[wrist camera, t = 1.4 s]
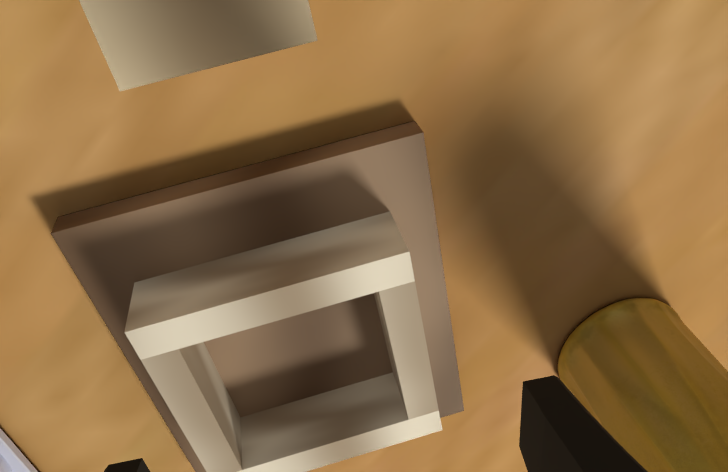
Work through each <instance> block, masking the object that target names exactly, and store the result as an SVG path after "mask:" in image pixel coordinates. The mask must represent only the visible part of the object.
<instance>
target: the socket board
mask: <svg viewBox="0 0 728 472" xmlns="http://www.w3.org/2000/svg"><path fill="white" fill-rule="evenodd" d="M51 235H52V236H53V238H54V240H55V241H56V243H57V245H58V246H59V248H60V249H61V251H62V253H63V254H64V256H65V258H66V259H67V261H68V263H69V264H70V266H71V268H72V269H73V271H74V273H75V274H76V276H77V277H78V279H79V281H80V282H81V284H82V286H83V287H84V289H85V291H86V292H87V294H88V296H89V297H90V299H91V300H92V302H93V304H94V305H95V307H96V309H97V310H98V312H99V314H100V315H101V317H102V319H103V320H104V322H105V324H106V325H107V327H108V328H109V330H110V332H111V333H112V335H113V337H114V338H115V340H116V342H117V343H118V345H119V347H120V348H121V350H122V352H123V353H124V355H125V356H126V358H127V360H128V361H129V363H130V365H131V366H132V368H133V370H134V371H135V373H136V375H137V376H138V378H139V380H140V381H141V383H142V384H143V386H144V388H145V389H146V391H147V393H148V394H149V396H150V398H151V399H152V401H153V403H154V404H155V406H156V407H157V409H158V411H159V412H160V414H161V416H162V417H163V419H164V421H165V422H166V424H167V426H168V427H169V429H170V431H171V432H172V434H173V435H174V437H175V439H176V440H177V442H178V444H179V445H180V447H181V449H182V450H183V452H184V454H185V455H186V457H187V459H188V460H189V462H190V463H191V465H192V467H193V468H194V470H195V472H306V471H309V470H313V469H316V468H319V467H323V466H326V465H329V464H332V463H336V462H339V461H342V460H346V459H349V458H352V457H355V456H359V455H362V454H365V453H369V452H372V451H375V450H378V449H382V448H385V447H388V446H391V445H395V444H398V443H401V442H405V441H408V440H411V439H414V438H418V437H421V436H424V435H428V434H431V433H434V432H437V431H441V430H442V426H441V420H440V418H441V417H445V416H448V415H451V414H455V413H458V412H461V411H464V407H463V400H462V393H461V386H460V380H459V373H458V366H457V359H456V352H455V345H454V339H453V332H452V325H451V318H450V311H449V304H448V298H447V291H446V284H445V277H444V270H443V263H442V257H441V250H440V243H439V236H438V229H437V222H436V216H435V209H434V202H433V195H432V188H431V181H430V174H429V168H428V161H427V154H426V147H425V140H424V133H423V131H422V130H421V129H420V127H419V126H418V125H417V123H416V122H415V121H413V122H409V123H405V124H402V125H398V126H394V127H390V128H387V129H383V130H379V131H376V132H372V133H368V134H364V135H361V136H357V137H353V138H350V139H346V140H342V141H339V142H335V143H331V144H327V145H324V146H320V147H316V148H313V149H309V150H305V151H301V152H298V153H294V154H290V155H287V156H283V157H279V158H275V159H272V160H268V161H264V162H261V163H257V164H253V165H249V166H246V167H242V168H238V169H235V170H231V171H227V172H223V173H220V174H216V175H212V176H209V177H205V178H201V179H198V180H194V181H190V182H186V183H183V184H179V185H175V186H172V187H168V188H164V189H160V190H157V191H153V192H149V193H146V194H142V195H138V196H134V197H131V198H127V199H123V200H120V201H116V202H112V203H108V204H105V205H101V206H97V207H94V208H90V209H86V210H83V211H79V212H75V213H71V214H68V215H64V216H60V217H58V218H57V221H56V223H55V225H54V227H53V230H52V232H51Z"/></svg>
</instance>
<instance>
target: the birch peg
mask: <svg viewBox="0 0 728 472" xmlns="http://www.w3.org/2000/svg"><path fill="white" fill-rule="evenodd" d="M79 1H80V3H81V6H82V8H83V10H84V12H85V14H86V17H87V19H88V21H89V23H90V26H91V28H92V30H93V32H94V35H95V37H96V39H97V41H98V43H99V46H100V48H101V50H102V52H103V55H104V57H105V59H106V61H107V63H108V66H109V68H110V70H111V72H112V75H113V77H114V79H115V81H116V83H117V86H118V88H119V90H120V91H123V90H127V89H131V88H135V87H139V86H143V85H147V84H151V83H154V82H158V81H162V80H166V79H170V78H174V77H178V76H182V75H185V74H189V73H193V72H197V71H201V70H205V69H209V68H213V67H217V66H220V65H224V64H228V63H232V62H236V61H240V60H244V59H248V58H251V57H255V56H259V55H263V54H267V53H271V52H275V51H279V50H282V49H286V48H290V47H294V46H298V45H302V44H306V43H310V42H314V41H317V36H316V32H315V28H314V23H313V19H312V15H311V11H310V6H309V2H308V0H79Z"/></svg>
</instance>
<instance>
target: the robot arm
mask: <svg viewBox="0 0 728 472" xmlns="http://www.w3.org/2000/svg"><path fill="white" fill-rule="evenodd" d="M519 447H520V450H521V453H522V456H523V459H524V461H525V464H526V467H527V470H528V472H648V471H646V470H645V469H644V468H643V467H642V466H641V465H640V464H639V463H638V462H637V461H636V460H635V459H634V458H633V457H632V456H631V455H630V454H629V453H628V452H627V451H626V450H625V449H624V448H623V447H622V446H621V445H620V444H619V443H618V442H617V441H616V440H615V439H614V438H613V437H612V436H611V435H610V434H609V433H608V432H607V430H606V429H605V428H604V427H603V426H602V425H601V424H600V423H599V422H598V421H597V420H596V419H595V418H594V417H593V416H592V415H591V414H590V412H589V411H588V410H587V409H586V408H585V407H584V406H583V405H582V404H581V403H580V401H579V400H578V399H577V398H576V397H575V396H574V395H573V394H572V393H571V391H570V390H569V389H568V388H567V387H566V386H565V385H564V383H563V382H562V381H561V380H560V379H559V378H558V377H556V376H549V377H544V378H539V379H534V380H529V381H524V382H523V390H522V408H521V426H520V443H519ZM0 472H38V471H37V470H36V469H35V468H34V466H33V465H32V464H31V463H30V462H29V461H28V460H27V458H26V457H25V456H24V455H23V454H22V453H21V451H20V450H19V449H18V448H17V447H16V446H15V445H14V443H13V442H12V441H11V440H10V439H9V438H8V437H7V435H6V434H5V433H4V432H3V431H2V430H1V428H0ZM104 472H150V471H149V469H148V467H147V466H146V464H145V462H144V461H143V459H142V458H141V459H136V460H131V461H126V462H121V463H116V464H111V465H108V467H107V468H106V469H105V471H104Z"/></svg>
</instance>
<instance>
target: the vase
mask: <svg viewBox="0 0 728 472" xmlns="http://www.w3.org/2000/svg"><path fill="white" fill-rule="evenodd" d="M558 372H559V377H560V380H561V381H562V382H563V383H564V385H565V386H566V387H567V388H568V389H569V390H570V391H571V392H572V393H573V394H574V396H575V397H576V398H577V399H578V400H579V401H580V403H581V404H582V405H583V406H584V407H585V408H586V409H587V410H588V411H589V412H590V414H591V415H592V416H593V417H594V418H595V419H596V420H597V421H598V422H599V423H600V424H601V425H602V426H603V427H604V428H605V429H606V430H607V432H608V433H609V434H610V435H611V436H612V437H613V438H614V439H615V440H616V441H617V442H618V443H619V444H620V445H621V446H622V447H623V448H624V449H625V450H626V451H627V452H628V453H629V454H630V455H631V456H632V457H633V458H634V459H635V460H636V461H637V462H638V463H639V464H640V465H641V466H642V467H643V468H644V469H645V470H646V471H648V472H728V372H727V370H726V369H725V368H724V367H723V366H722V365H721V364H720V363H719V361H718V360H717V359H716V358H715V357H714V356H713V355H712V354H711V353H710V351H709V350H708V349H707V348H706V347H705V346H704V345H703V344H702V343H701V342H700V341H699V339H698V338H697V337H696V336H695V335H694V334H693V333H692V332H691V331H690V330H689V329H688V328H687V326H686V325H685V324H684V323H683V322H682V320H681V319H680V317H679V316H678V314H677V313H676V312H675V311H674V310H673V308H671V307H670V306H669V305H667V304H665V303H663V302H661V301H659V300H656V299H652V298H633V299H626V300H623V301H619V302H616V303H614V304H611V305H609V306H607V307H605V308H602V309H601V310H599V311H597V312H595V313H594V314H593V315H591V316H590V317H588V318H587V319H586V320H585V321H583V322H582V323H581V324H580V325H579V326H578V327H577V328H576V329H575V330H574V331H573V332H572V333H571V335H570V336H569V337H568V339H567V340H566V342H565V344H564V346H563V347H562V350H561V352H560V356H559V360H558Z"/></svg>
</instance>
